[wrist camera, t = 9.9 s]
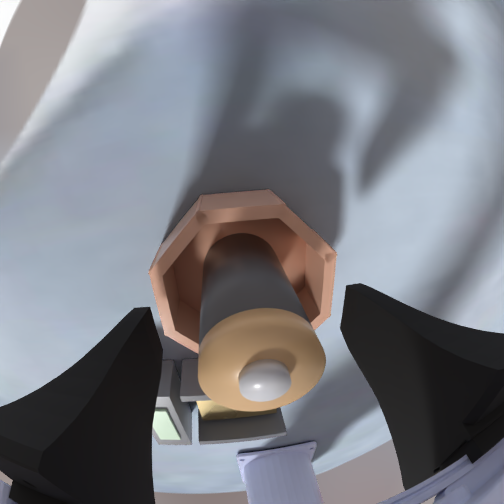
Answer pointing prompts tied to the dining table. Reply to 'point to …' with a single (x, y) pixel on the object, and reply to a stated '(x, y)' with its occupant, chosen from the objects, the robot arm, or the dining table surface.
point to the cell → (253, 329)
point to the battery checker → (180, 416)
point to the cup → (231, 222)
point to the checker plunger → (225, 411)
